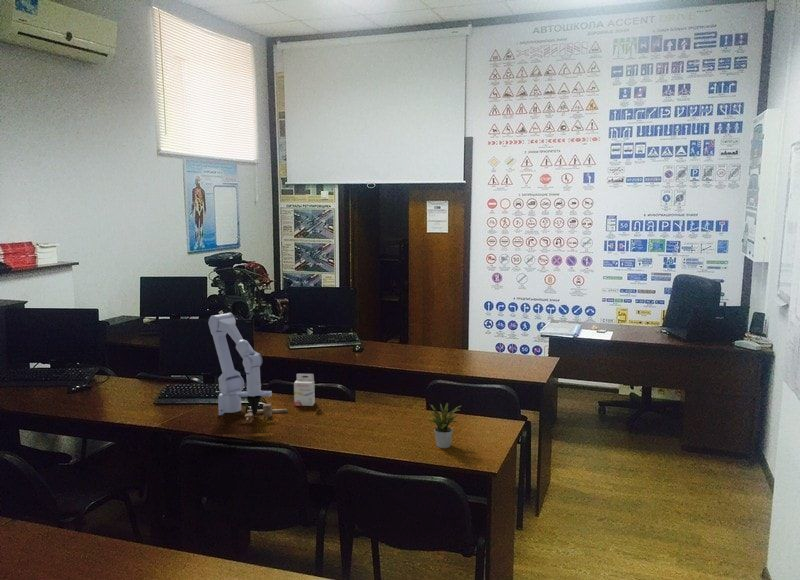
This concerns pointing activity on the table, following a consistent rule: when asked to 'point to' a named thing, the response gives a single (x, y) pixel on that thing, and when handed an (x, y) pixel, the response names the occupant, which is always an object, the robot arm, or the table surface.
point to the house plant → (443, 426)
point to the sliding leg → (267, 410)
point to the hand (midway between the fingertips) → (255, 413)
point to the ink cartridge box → (304, 390)
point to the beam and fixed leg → (250, 412)
